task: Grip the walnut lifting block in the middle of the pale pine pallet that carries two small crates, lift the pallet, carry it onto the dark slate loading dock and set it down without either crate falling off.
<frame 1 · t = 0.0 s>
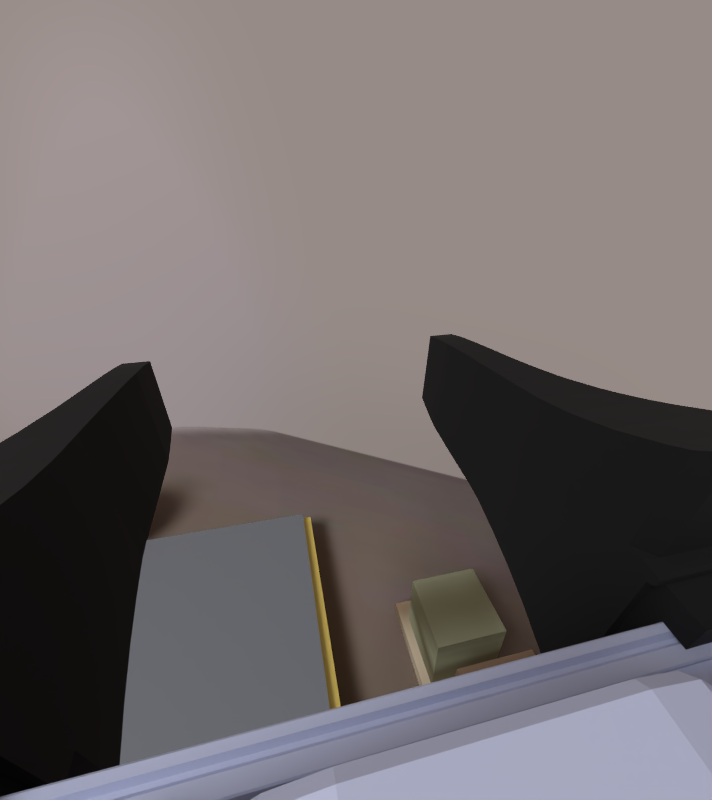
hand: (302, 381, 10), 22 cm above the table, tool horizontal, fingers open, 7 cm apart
dock: (221, 701, 23), on the table
pallet: (491, 768, 21), on the table
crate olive: (449, 642, 25), point 1 cm above the table
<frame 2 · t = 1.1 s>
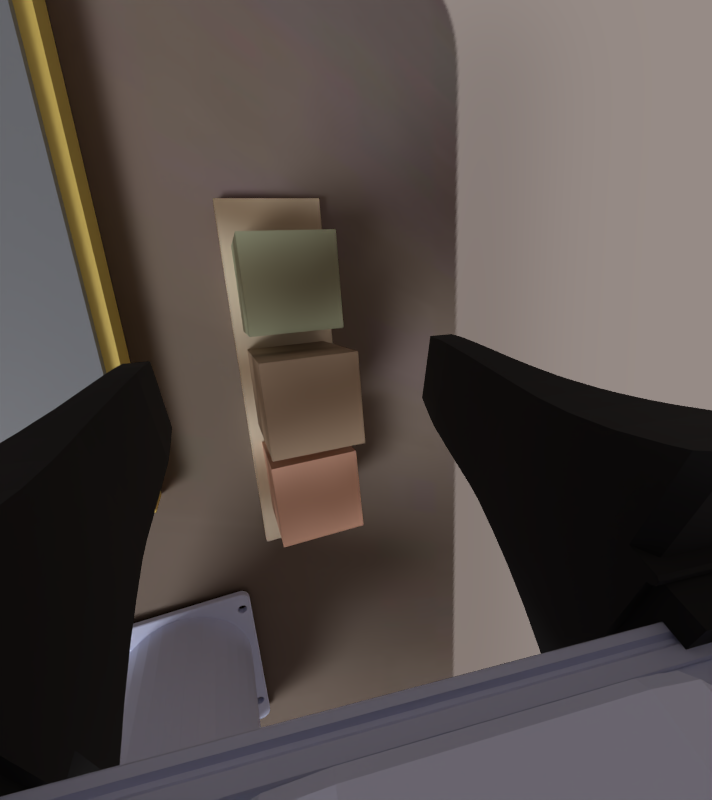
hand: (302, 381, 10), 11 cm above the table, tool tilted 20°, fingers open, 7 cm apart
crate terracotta: (302, 467, 22), point 1 cm above the table, touching pallet
pallet: (286, 377, 22), on the table, touching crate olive, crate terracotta
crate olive: (278, 287, 20), point 1 cm above the table, touching pallet
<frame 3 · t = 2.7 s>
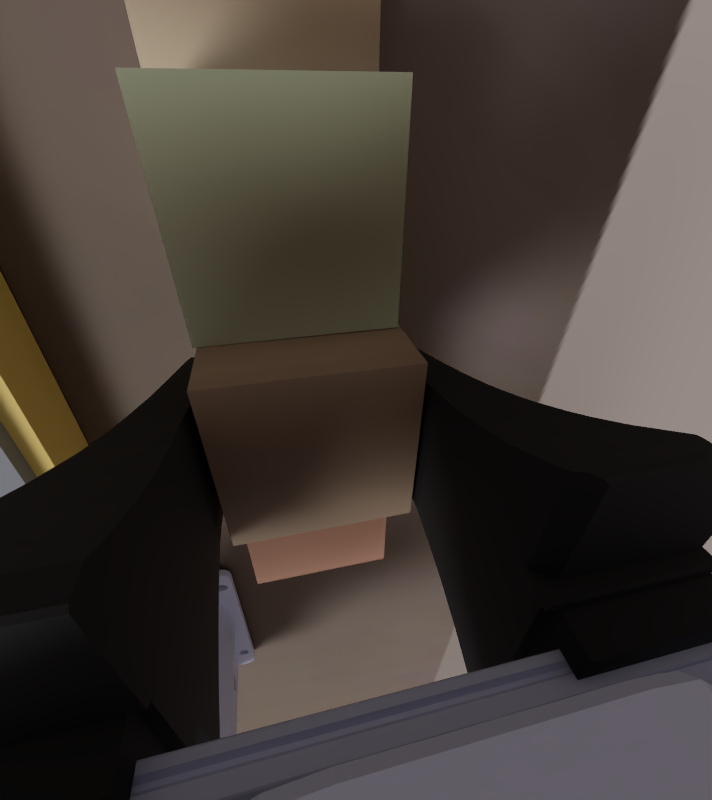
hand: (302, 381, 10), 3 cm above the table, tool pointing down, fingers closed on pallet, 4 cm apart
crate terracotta: (303, 440, 14), point 1 cm above the table, touching pallet
pallet: (289, 321, 13), on the table, touching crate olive, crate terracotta, gripper
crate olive: (276, 193, 10), point 1 cm above the table, touching pallet
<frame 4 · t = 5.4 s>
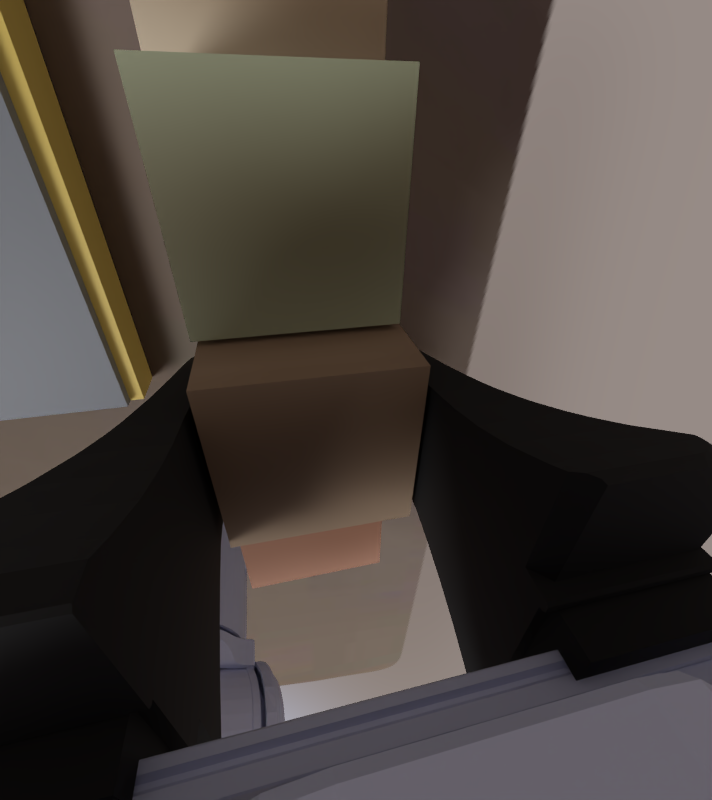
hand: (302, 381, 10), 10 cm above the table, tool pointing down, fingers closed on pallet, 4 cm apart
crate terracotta: (299, 443, 14), point 8 cm above the table, touching pallet
pallet: (290, 320, 13), point 7 cm above the table, touching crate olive, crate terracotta, gripper
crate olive: (277, 187, 10), point 8 cm above the table, touching pallet
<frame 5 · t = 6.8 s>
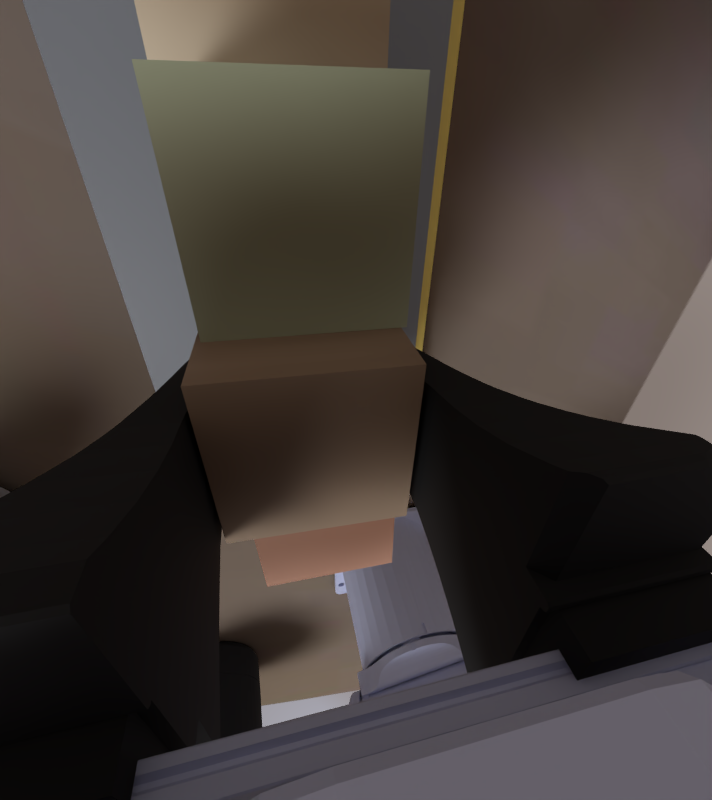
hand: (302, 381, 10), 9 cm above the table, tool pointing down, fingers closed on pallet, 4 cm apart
dock: (280, 273, 18), on the table
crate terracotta: (313, 444, 14), point 7 cm above the table, touching pallet
pallet: (293, 319, 13), point 6 cm above the table, touching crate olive, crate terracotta, gripper
pen holder: (211, 660, 37), on the table
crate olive: (288, 191, 10), point 7 cm above the table, touching pallet
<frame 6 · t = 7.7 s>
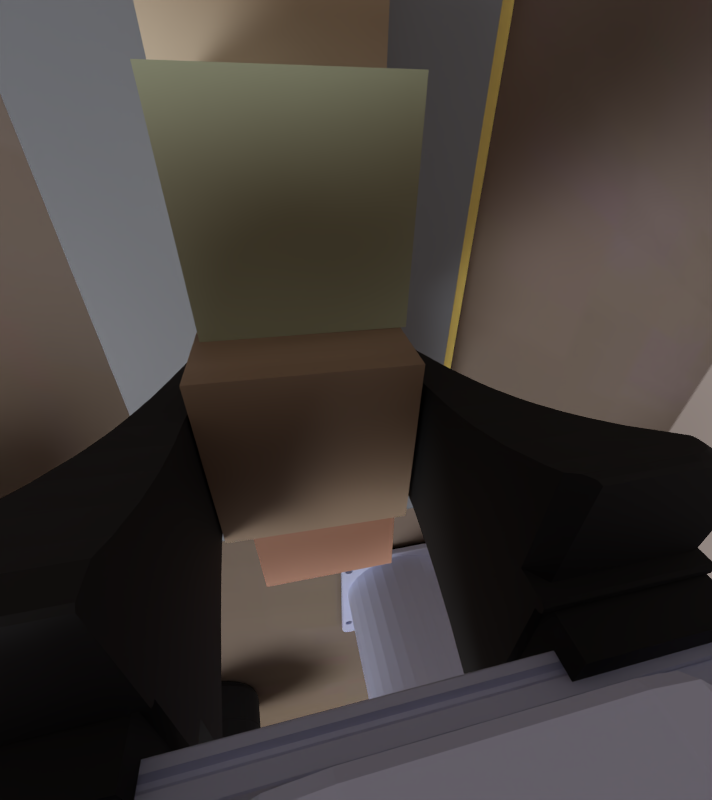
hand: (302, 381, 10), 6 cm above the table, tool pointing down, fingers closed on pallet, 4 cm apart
dock: (284, 297, 15), on the table
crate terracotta: (312, 445, 14), point 4 cm above the table, touching pallet
pallet: (292, 318, 13), point 3 cm above the table, touching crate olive, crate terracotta, gripper
pen holder: (208, 699, 34), on the table
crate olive: (287, 190, 10), point 4 cm above the table, touching pallet
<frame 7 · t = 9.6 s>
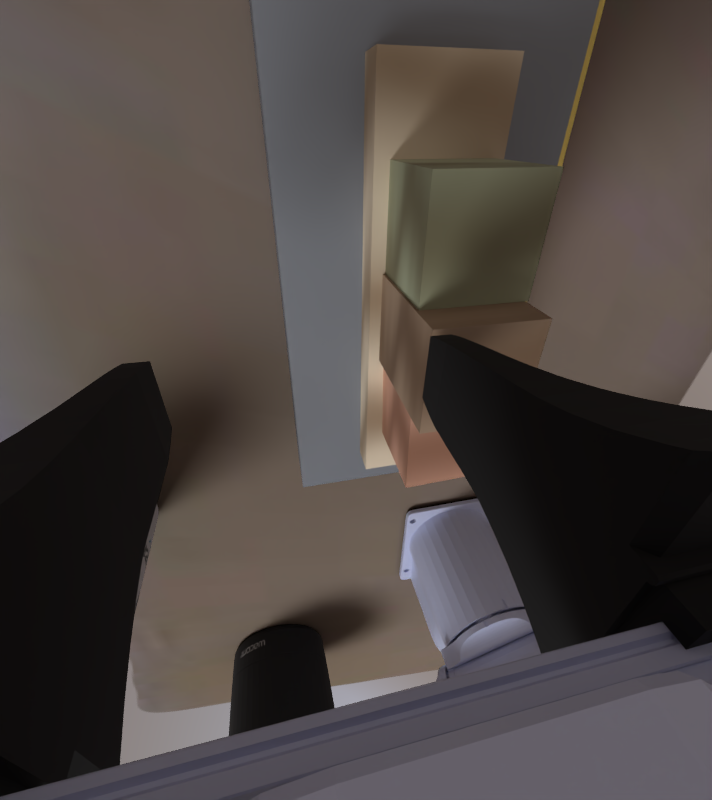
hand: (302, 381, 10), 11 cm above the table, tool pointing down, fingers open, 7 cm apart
dock: (395, 291, 21), on the table
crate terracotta: (420, 396, 20), point 4 cm above the table, touching pallet
pallet: (412, 304, 19), point 2 cm above the table, touching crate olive, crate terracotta, dock
pen holder: (279, 643, 40), on the table
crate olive: (436, 219, 15), point 4 cm above the table, touching pallet
energy drink can: (109, 496, 25), on the table
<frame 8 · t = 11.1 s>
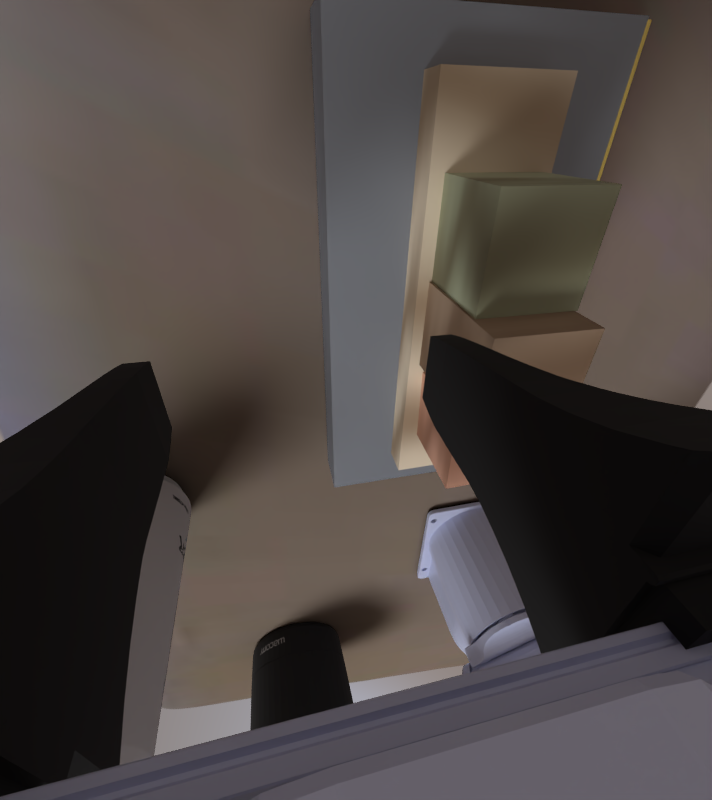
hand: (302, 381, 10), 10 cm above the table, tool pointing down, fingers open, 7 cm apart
dock: (430, 297, 21), on the table
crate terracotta: (455, 399, 21), point 4 cm above the table, touching pallet
pallet: (451, 310, 19), point 2 cm above the table, touching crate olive, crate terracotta, dock
pen holder: (296, 640, 40), on the table
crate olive: (484, 229, 16), point 4 cm above the table, touching pallet
energy drink can: (143, 495, 25), on the table
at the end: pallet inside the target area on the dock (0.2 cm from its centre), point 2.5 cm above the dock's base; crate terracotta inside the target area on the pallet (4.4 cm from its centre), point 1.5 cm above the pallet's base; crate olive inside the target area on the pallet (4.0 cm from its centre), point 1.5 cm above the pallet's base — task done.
